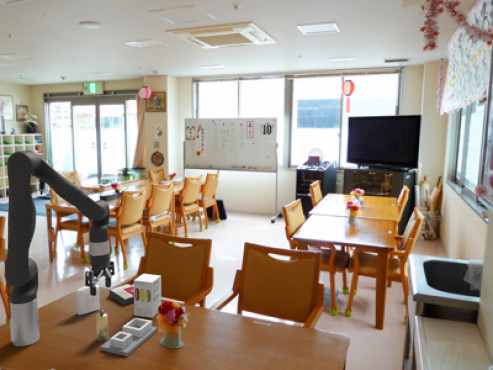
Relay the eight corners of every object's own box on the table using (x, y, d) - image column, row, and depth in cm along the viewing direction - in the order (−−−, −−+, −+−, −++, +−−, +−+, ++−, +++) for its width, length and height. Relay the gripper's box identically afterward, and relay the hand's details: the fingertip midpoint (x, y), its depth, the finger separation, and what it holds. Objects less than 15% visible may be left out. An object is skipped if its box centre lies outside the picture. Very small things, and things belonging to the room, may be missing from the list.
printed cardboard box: (124, 299, 185) (109, 288, 195) (124, 307, 185) (109, 296, 195) (144, 292, 193) (128, 282, 203) (144, 300, 193) (128, 290, 203)
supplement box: (133, 315, 175) (132, 280, 173) (143, 306, 184) (142, 273, 182) (153, 318, 173) (152, 282, 171) (162, 309, 182) (161, 275, 180)
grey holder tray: (101, 350, 147) (100, 339, 147) (132, 325, 166) (132, 315, 166) (127, 356, 144) (127, 345, 143) (157, 330, 162) (156, 320, 162)
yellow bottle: (94, 340, 154) (93, 311, 153) (102, 334, 158) (100, 307, 157) (103, 342, 153) (102, 313, 151) (110, 336, 157) (109, 309, 155)
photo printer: (97, 306, 184) (96, 281, 182) (101, 309, 181) (100, 284, 179) (75, 313, 177) (74, 287, 175) (79, 316, 174) (78, 290, 172)
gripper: (104, 245, 159) (105, 283, 161) (78, 256, 145) (80, 296, 147) (119, 247, 156) (120, 286, 158) (94, 258, 143) (96, 300, 145)
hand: (101, 291), depth 153 cm, fingers open, 8 cm apart
